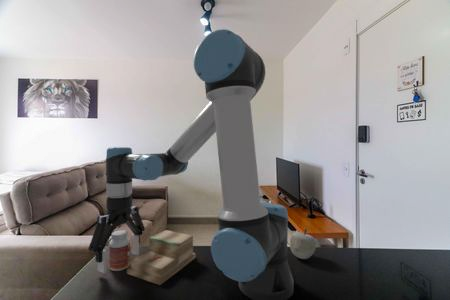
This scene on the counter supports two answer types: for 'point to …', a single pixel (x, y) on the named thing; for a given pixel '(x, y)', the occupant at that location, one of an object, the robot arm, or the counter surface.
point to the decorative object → (302, 244)
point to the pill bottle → (119, 251)
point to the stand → (163, 257)
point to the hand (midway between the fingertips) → (119, 262)
